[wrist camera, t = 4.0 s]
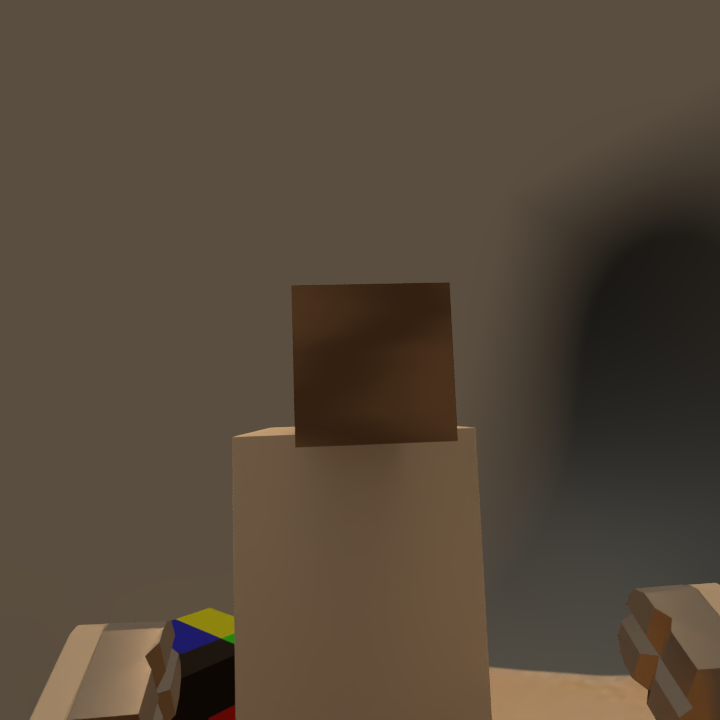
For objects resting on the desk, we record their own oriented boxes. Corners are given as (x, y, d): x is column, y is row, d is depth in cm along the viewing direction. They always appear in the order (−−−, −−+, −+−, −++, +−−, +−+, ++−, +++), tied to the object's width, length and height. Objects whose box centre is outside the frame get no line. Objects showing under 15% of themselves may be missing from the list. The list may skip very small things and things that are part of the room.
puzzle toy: (93, 787, 40) (95, 646, 41) (210, 725, 48) (209, 607, 49) (162, 855, 34) (162, 686, 35) (285, 771, 41) (282, 634, 42)
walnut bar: (371, 424, 37) (369, 366, 38) (457, 440, 13) (449, 282, 14) (313, 426, 37) (311, 368, 37) (295, 447, 13) (291, 285, 14)
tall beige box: (430, 816, 36) (412, 422, 38) (515, 1136, 20) (475, 427, 23) (278, 830, 35) (270, 427, 38) (241, 1172, 19) (232, 437, 22)
